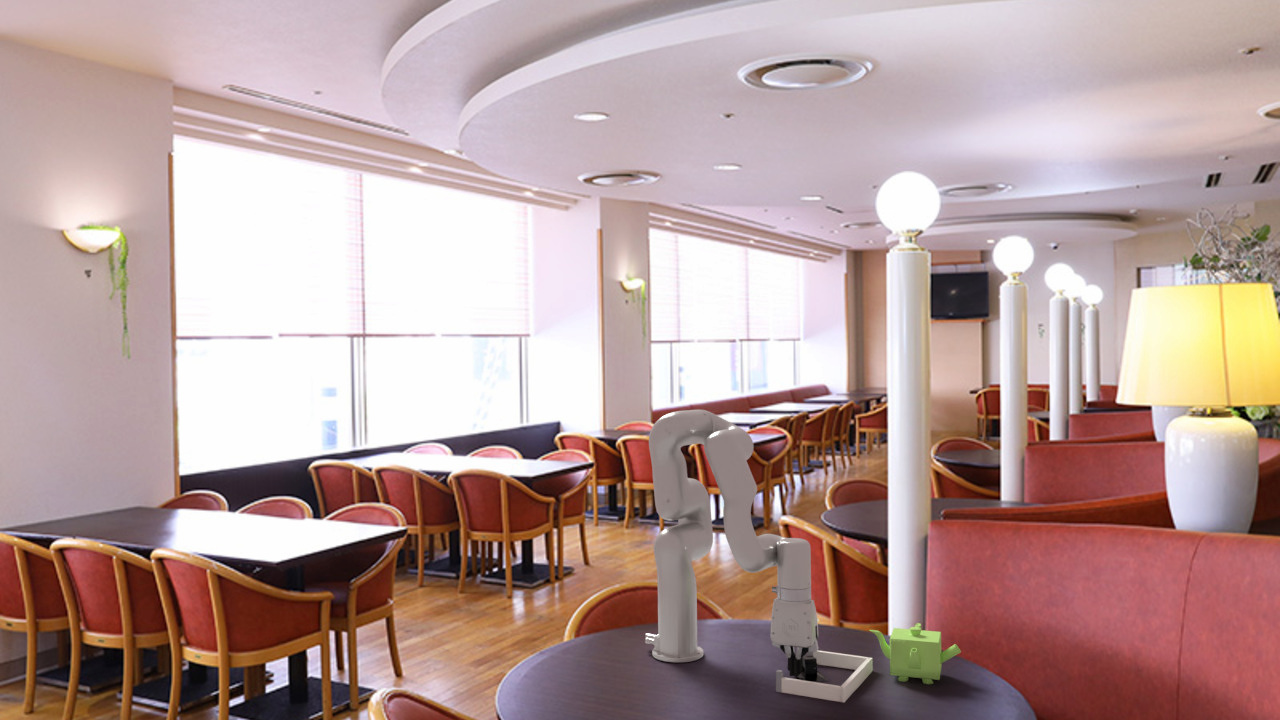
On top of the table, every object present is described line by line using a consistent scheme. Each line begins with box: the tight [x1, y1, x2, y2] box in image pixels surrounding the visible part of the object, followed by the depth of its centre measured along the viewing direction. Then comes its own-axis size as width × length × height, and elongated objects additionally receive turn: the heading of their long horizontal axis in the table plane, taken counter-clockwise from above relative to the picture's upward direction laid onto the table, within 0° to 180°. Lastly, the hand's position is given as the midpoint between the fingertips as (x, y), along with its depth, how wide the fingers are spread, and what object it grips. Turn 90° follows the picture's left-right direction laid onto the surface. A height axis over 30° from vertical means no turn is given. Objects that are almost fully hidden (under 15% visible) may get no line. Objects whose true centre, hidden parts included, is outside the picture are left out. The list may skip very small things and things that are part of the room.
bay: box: [775, 649, 874, 703], centre depth 215 cm, size 15×23×4 cm, turn 152°
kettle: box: [869, 622, 962, 685], centre depth 216 cm, size 15×14×11 cm
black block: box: [797, 653, 829, 682], centre depth 219 cm, size 12×7×5 cm, turn 11°
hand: (795, 674), depth 217 cm, fingers closed
